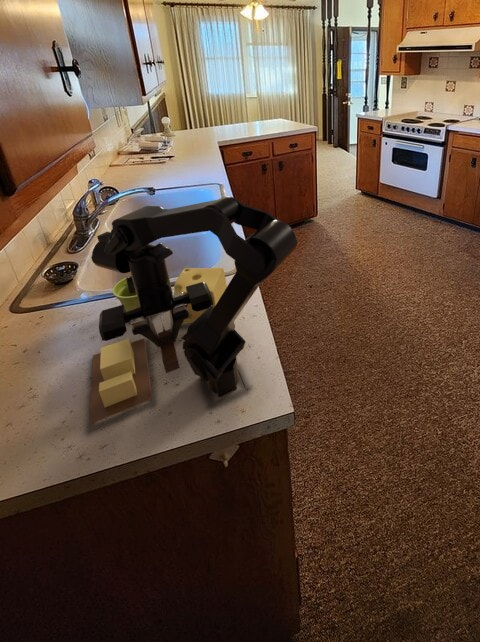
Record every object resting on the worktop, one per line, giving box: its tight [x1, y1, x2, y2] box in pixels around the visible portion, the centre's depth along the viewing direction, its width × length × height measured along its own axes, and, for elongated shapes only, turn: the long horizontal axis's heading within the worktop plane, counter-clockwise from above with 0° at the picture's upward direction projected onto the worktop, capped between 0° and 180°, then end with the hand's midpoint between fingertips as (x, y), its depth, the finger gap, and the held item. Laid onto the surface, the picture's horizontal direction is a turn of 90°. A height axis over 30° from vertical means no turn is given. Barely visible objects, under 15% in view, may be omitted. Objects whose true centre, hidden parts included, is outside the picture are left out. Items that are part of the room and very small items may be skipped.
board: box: [88, 337, 153, 425], centre depth 67 cm, size 17×10×1 cm, turn 29°
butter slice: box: [99, 372, 137, 407], centre depth 62 cm, size 2×5×4 cm, turn 120°
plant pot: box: [112, 277, 140, 312], centre depth 83 cm, size 9×9×9 cm
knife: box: [157, 313, 181, 374], centre depth 71 cm, size 18×2×3 cm, turn 30°
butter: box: [100, 338, 135, 381], centre depth 68 cm, size 6×5×4 cm
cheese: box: [173, 267, 228, 324], centre depth 84 cm, size 10×11×10 cm
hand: (167, 343), depth 69 cm, fingers closed on knife, 2 cm apart
